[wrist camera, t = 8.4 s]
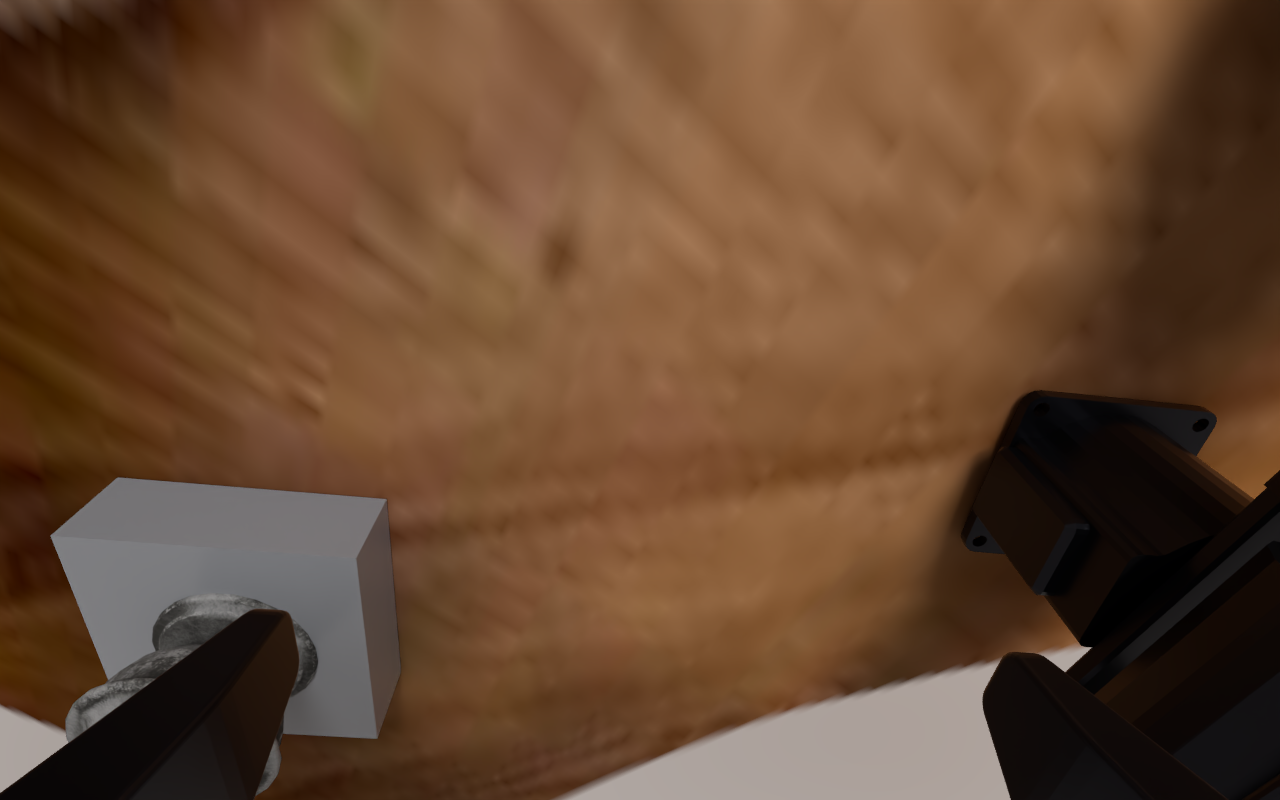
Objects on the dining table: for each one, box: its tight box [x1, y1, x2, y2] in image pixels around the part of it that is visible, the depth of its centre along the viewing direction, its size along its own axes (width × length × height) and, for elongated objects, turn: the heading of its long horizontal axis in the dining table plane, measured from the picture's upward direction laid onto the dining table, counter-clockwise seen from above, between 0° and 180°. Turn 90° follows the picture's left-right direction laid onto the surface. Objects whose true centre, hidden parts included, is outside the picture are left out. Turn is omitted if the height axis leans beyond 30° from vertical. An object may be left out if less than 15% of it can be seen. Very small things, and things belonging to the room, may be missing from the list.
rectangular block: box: [51, 478, 401, 739], centre depth 24 cm, size 9×9×3 cm
